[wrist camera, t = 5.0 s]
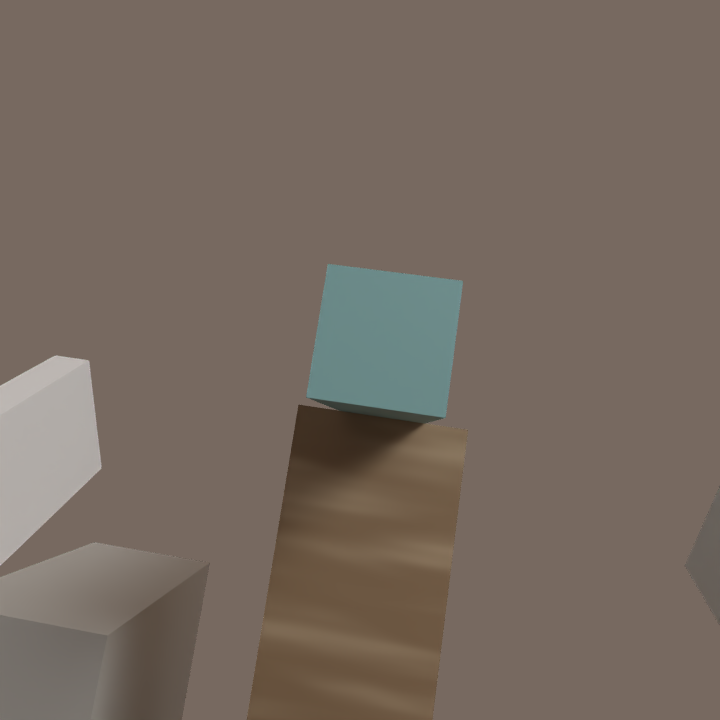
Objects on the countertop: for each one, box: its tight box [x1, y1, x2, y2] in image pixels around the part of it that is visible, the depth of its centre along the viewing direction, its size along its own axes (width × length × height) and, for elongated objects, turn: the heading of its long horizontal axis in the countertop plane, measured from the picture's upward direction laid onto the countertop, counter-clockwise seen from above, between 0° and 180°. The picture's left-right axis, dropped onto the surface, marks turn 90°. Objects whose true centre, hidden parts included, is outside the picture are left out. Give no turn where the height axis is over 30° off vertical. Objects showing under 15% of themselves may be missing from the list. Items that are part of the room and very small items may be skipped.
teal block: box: [307, 264, 463, 424], centre depth 25 cm, size 24×4×4 cm, turn 176°
